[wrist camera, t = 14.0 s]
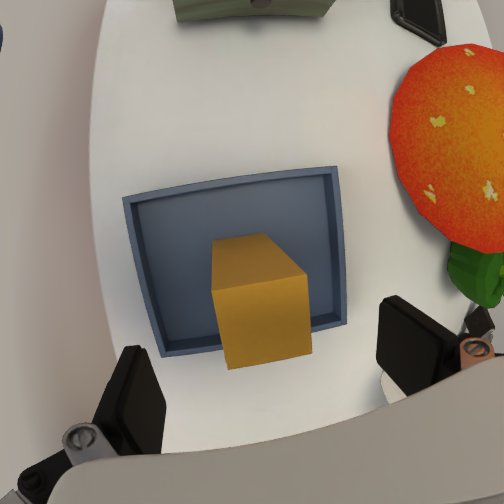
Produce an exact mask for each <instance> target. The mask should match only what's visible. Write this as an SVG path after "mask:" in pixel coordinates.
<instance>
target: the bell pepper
mask: <svg viewBox="0 0 504 504" xmlns="http://www.w3.org/2000/svg"><path fill="white" fill-rule="evenodd" d="M450 254H451V257H450V259H449V260H448V267H447V270H448V272H449V275H450V278H451V281H452V282H453V284H454V285H455V286H456V287H457V288H458V289H459V290H460V291H461V292H462V293H463V294H464V295H465V296H466V297H467V298H469V299H470V300H472V301H474V302H475V303H477V304H479V305H480V306H482V307H484V308H486V309H489V308H495V307H496V306H497V305H498V304H499V303H500V300H501V297H502V295H503V296H504V252H499V253H488V254H486V253H483V252H480V251H478V250H475V249H472V248H470V247H467V246H464V245H462V244H459V243H456V242H453V241H452V244H451V249H450Z"/></svg>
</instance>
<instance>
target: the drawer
mask: <svg viewBox="0 0 504 504" xmlns="http://www.w3.org/2000/svg"><path fill="white" fill-rule="evenodd" d="M335 1H336V0H173V4H174V9H175V14H176V19H177V23H181V22H187V21H194V20H201V19H209V18H219V17H230V16H246V15H300V16H316V17H323V16H324V15H325V14H326V12H327V11H328V10H329V8H330V7H331V6H332V4H333V3H334V2H335Z"/></svg>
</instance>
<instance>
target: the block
mask: <svg viewBox="0 0 504 504" xmlns="http://www.w3.org/2000/svg"><path fill="white" fill-rule="evenodd" d="M211 292H212V297H213V302H214V307H215V312H216V317H217V322H218V326H219V331H220V336H221V341H222V345H223V350H224V354H225V359H226V363H227V368H228V370H230V369H236V368H242V367H248V366H254V365H259V364H264V363H270V362H275V361H280V360H284V359H289V358H294V357H298V356H303V355H307V354H311V353H312V339H311V322H310V307H309V293H308V280H307V274H306V273H305V272H304V271H303V270H302V269H301V268H300V267H299V266H298V265H297V264H296V263H295V262H294V261H293V260H292V259H291V258H290V257H289V256H288V255H287V254H286V253H285V252H284V251H283V250H282V249H281V248H279V247H278V246H277V245H276V244H275V243H274V242H273V241H272V240H271V239H270V238H269V237H268V236H267V235H266V234H265V233H259V234H252V235H246V236H240V237H233V238H227V239H221V240H215V241H213V247H212V289H211Z"/></svg>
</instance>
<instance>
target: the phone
mask: <svg viewBox="0 0 504 504" xmlns="http://www.w3.org/2000/svg"><path fill="white" fill-rule="evenodd" d="M391 15H392V18H393V19H394V21H395V22H396V23H397V24H399V25H401V26H403V27H404V28H406V29H408V30H410V31H412V32H414V33H415V34H417V35H419V36H421V37H422V38H424V39H426V40H428V41H429V42H431V43H433V44H434V45H436V46H439V47H440V46H442V45H444V44H446V43H447V37H446V28H445V21H444V14H443V8H442V2H441V0H391Z"/></svg>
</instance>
